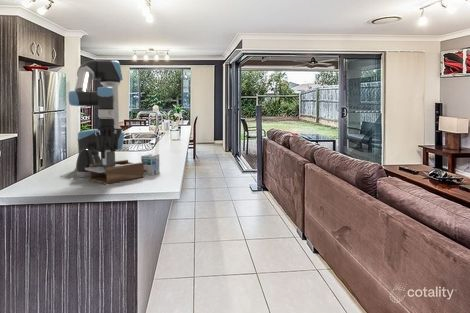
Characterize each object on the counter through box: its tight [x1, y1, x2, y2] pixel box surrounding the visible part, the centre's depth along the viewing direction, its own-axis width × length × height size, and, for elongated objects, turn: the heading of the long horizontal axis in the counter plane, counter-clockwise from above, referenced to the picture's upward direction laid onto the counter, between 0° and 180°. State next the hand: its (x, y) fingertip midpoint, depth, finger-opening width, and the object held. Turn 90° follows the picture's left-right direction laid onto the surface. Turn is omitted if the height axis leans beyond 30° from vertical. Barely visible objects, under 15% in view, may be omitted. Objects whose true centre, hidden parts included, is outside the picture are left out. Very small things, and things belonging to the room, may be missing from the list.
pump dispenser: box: [75, 149, 95, 179], centre depth 209 cm, size 10×10×15 cm
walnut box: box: [89, 159, 145, 185], centre depth 204 cm, size 16×22×8 cm
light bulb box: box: [140, 153, 160, 176], centre depth 220 cm, size 11×7×11 cm, turn 168°
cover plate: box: [85, 150, 120, 173], centre depth 199 cm, size 13×18×9 cm
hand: (108, 164), depth 199 cm, fingers closed on cover plate, 3 cm apart
